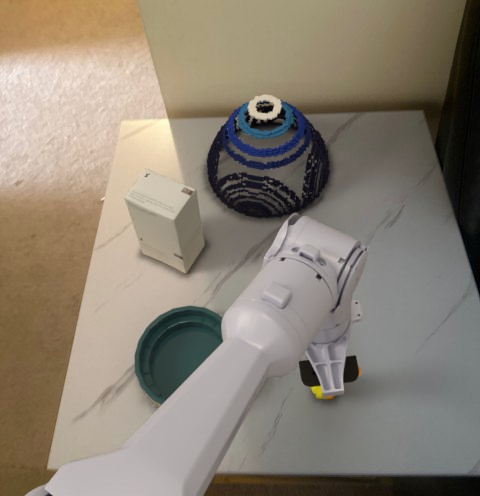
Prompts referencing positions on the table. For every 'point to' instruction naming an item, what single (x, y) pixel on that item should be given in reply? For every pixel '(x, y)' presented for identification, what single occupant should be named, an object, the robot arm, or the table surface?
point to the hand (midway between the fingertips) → (322, 338)
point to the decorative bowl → (277, 112)
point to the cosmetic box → (166, 219)
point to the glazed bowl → (175, 349)
